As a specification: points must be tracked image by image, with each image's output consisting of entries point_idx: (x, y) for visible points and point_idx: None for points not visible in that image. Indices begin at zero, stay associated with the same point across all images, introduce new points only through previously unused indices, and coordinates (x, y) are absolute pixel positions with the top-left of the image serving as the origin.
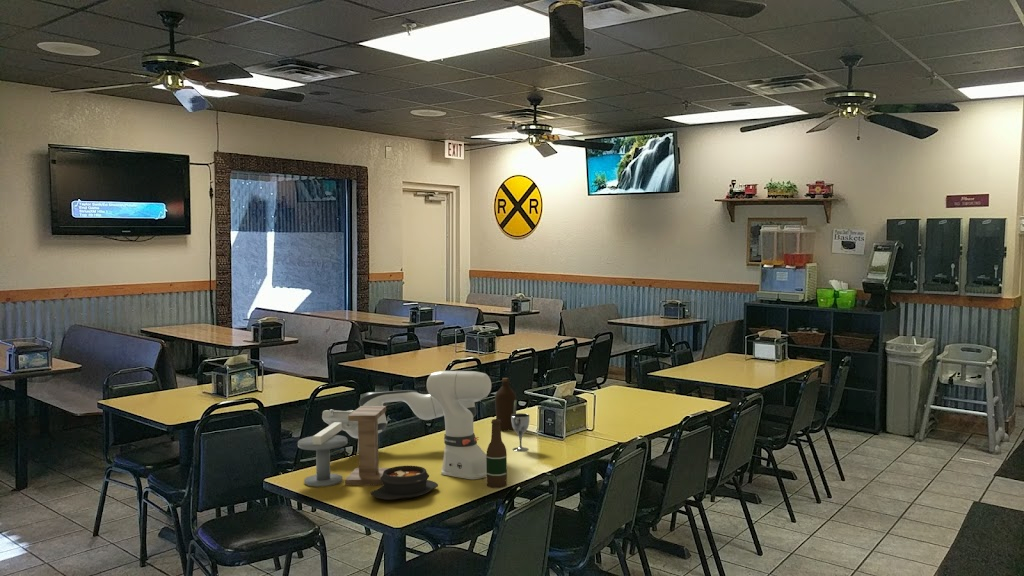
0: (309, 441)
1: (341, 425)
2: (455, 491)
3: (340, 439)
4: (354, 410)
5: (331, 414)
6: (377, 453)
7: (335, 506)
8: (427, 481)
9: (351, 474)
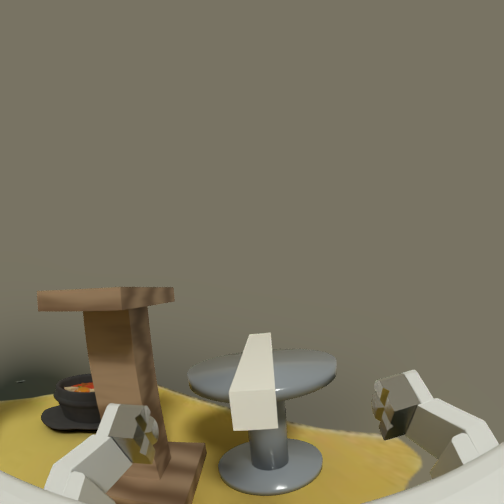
0: (295, 358)
1: (230, 406)
2: (30, 412)
3: (208, 371)
4: (123, 404)
5: (405, 429)
6: None
7: (207, 401)
8: (50, 418)
9: (192, 465)
